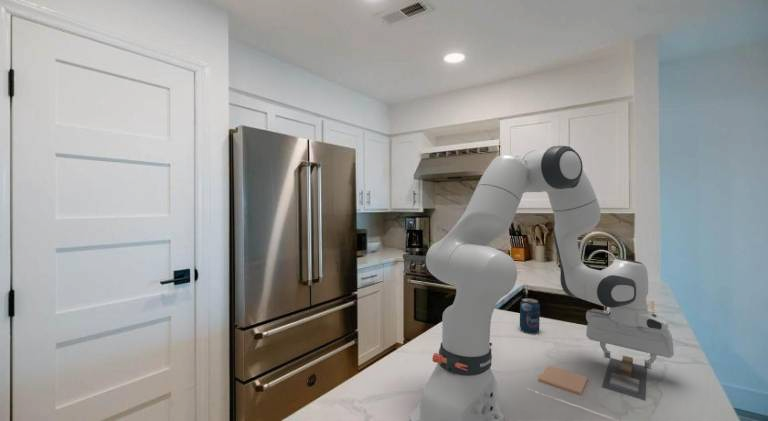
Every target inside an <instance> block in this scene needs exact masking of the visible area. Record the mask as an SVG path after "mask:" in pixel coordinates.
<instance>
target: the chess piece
mask: <svg viewBox="0 0 768 421" xmlns="http://www.w3.org/2000/svg"><path fill="white" fill-rule="evenodd" d="M654 302H655V300H654V299H653V298H649V301H648V311H650V312H652V313H655V314H656V313H657V312H658V311H657V310H655V303H654Z"/></svg>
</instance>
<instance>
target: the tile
mask: <svg viewBox="0 0 768 421" xmlns="http://www.w3.org/2000/svg"><path fill="white" fill-rule="evenodd" d="M537 381H538V382H539V383H542V384H545V385H549V386H551V387H554V388H557V389H561V390H563V391H565V392H568V393H572V394H575V395H577V396H581V395H582V394H583V392H584V390H585V387H586V385H587V383H588V381H589V377H588V376H585V375H582V374H578V373H576V372H572V371H569V370H565V369H561V368H559V367H555V366H552V365H547V367H546V368H545V369H544V370H543V372H542V373H541V375H540V376H539V377H538V380H537Z"/></svg>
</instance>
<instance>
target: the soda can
mask: <svg viewBox="0 0 768 421" xmlns="http://www.w3.org/2000/svg"><path fill="white" fill-rule="evenodd" d="M540 311H541V305H540V304H539V300H538V299H534V298H531V297H530V298H529V297H525V298H521V301H520V303H519V327H520V328H519V329H520V330H521V332H523V333H525V334H528V335H529V334H530V335H536V334H538V333H539V331H540V314H541V312H540Z"/></svg>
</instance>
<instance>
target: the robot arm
mask: <svg viewBox="0 0 768 421" xmlns="http://www.w3.org/2000/svg"><path fill="white" fill-rule="evenodd" d="M583 167H584V166H583V161H582V157H581V156H580V154H579V153H578V151H576V150H575V149H574V148H572V147H571V146H567V145H553V146H551V147H547V148H540V149H537V150H531V151H528V152H525V153H522V154H519V155H513V154H500V155H498V156H497V157H495V158H494V159H492V161H491V162H490V163H489V165H488V166H487V167H486V168H485V171H484V172H483V174H482V175H481V177H480V179H479V181H478V183H477V186H476V188H475V190H474V191H473V194H472V195H471V197H470V200H469V202H468V204H467V207H466V208H465V211H464V212H463V214H462V216H461V217H460V218H459V219H458V221H457V222H456V223H455V225H454V226H453V227H452V228H451V229H450V231H448V232H447V234H446V235H445V236H444V237H443V238H441V239H440V240H438V241H437V242H435V243H433V244H432V245H431V246H430V247H429V248H428V250H427V252H426V256H425V266H426V269H427V270H428V272H429V273H430V274H431V275H432V276H433V277H434V278H436V279H437V280H439V281H440V282H441V283H442V282H443V283H444V284H448V285H450V286H453V287H455V289H456V293H455V297H454V300H453V303H452V304H451V305H449V306H448V307H446V308H445V309H444V311H443V312H442V319H441V320H442V326H441V327H442V330H441V332H442V333H441V339H442V340H441V343H440V346H439V349H438V352H437V353H436V352H435V353H433V354H432V362H433V363H434V364H435V363H436V366H435V368H434V369H433V371H432V372H431V375H430V376H429V379H428V381H427V382H426V385H425V387H424V389H423V390H422V392H421V399H420V401H419V402H418V404H417V405H416V407H415V408H414V410H413V411H412V412H411V414H410V415H409V421H505V415H504V413H503V412H502V411H501V410H500V409H499V396H498V395H499V394H498V381H497V378H496V377H495V375H494V373H493V372H492V368H491V367H492V360H493V355H492V349H491V347H490V343H491V341H490V339H491V324H492V323H491V321H492V318H493V317H492V316H493V313H494V310H495V307H496V306H497V304H498V302H499V301H500V300H501V299H502V298H504V297H506V296H507V295H508V294H509V293H510V292H511V291H512V290H513V289H514V288H515V285H516V283H517V278H518V270H517V265H516V262H515V261H514V259H513V257H511V256H510V255H509V254H508V253H505V252H504V251H502V250H499V249H497V248H494V247H493V246H489V245H490V244H491V243H492V242H494V241H495V240H497V239H498V238H500V237H502V236H504V235H505V234H507V233H508V231H509V229H510V227H511V225H512V222H513V219H514V218H515V216H516V213H517V210H518V208H519V205H520V203H521V201H522V198H523V195H524V194H525V193H543V192H546V193H547V196H548V200H549V204H550V207H551V210H552V213H553V216H554V217H553V218H554V224H553V227H552V230H553V231H552V234H553V239H554V240H553V241H554V244H555V248H556V253H557V254H556V255H557V259H558V263H559V269H560V277H559V278H560V286H561V288H562V290H563V292H564V293H565V294H566V295H567V296H569V297H571V298H576V299H580V300H583V301H587V302H589V303H592V304H595V305H598V306H601V307H604V308H609V311H607V310H602V309H601V310H600V309H597V308H591V309H588V310H587V311H586V313H585V319H586V321H587V324H586V325H587V326H586V337H587V339H588V340H590V341H593V342H594V341H595V342H599V346H600V348H601V350H602V351H603V357H604V358H605V359H609V360H610V358H611V354H612V353H611V351H610V350H608V348H606V346H607V345H613V346H616V347H619V348H620V347H621V348H625V349H630V350H633V351H638V352H642V353H646V354H649V359H644V365H643V366H644V368H647V370H648V369H649V370H651V369H652V364H653V363H654V362H655V361H656V360H657V356H660V357H663V358H667V359H670V358H672V357H674V354H675V350H674V343H673V342H674V341H673V337H672V333H671V330H670V329H669V321H668V319H666V317H664V316H661V315H659V314H657V313H656V312H655V313H652V312H650V311H648V309H649V305H648V303H647V296H648V294H649V274H648V270H647V267H646V265H645V264H644V263H642V262H641V261H636V260H632V259H631V260H630V259H626V258H614V259H613V261H612V263H611V264H610V265H609V266H607V267H606V268H603V269H601V270H600V269H595V268H591V267H588V266H587V265H586V264H584V263H583V261H582V257H581V252H580V248H579V242H578V239H579V236H582V235H584V234H587V233H588V232H590V231H592V230H594V228H596V227H597V225H598V223H599V222H600V221H601V216H602V215H601V214H602V212H601V206H600V204H599V202H598V198H597V195H596V193H595V190H594V188H593V185H592V183H591V182H590V180H589V178H588V176H587V175H586V173H585V171H584V169H583Z"/></svg>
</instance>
